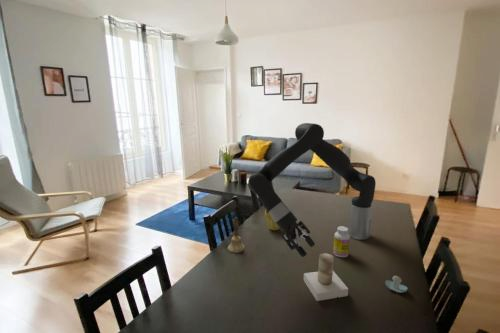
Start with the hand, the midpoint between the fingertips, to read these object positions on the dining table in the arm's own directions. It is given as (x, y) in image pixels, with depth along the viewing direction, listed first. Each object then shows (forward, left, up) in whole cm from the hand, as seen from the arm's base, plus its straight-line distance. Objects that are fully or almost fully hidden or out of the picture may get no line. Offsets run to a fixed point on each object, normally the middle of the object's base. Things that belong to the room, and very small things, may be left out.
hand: (309, 250), depth 106 cm
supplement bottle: (-23, -15, -14) cm, 31 cm away
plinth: (-5, +5, -14) cm, 15 cm away
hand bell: (+23, -31, -14) cm, 41 cm away
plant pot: (-1, -48, -14) cm, 50 cm away
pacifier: (-31, +11, -14) cm, 35 cm away
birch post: (-5, +5, -11) cm, 12 cm away
